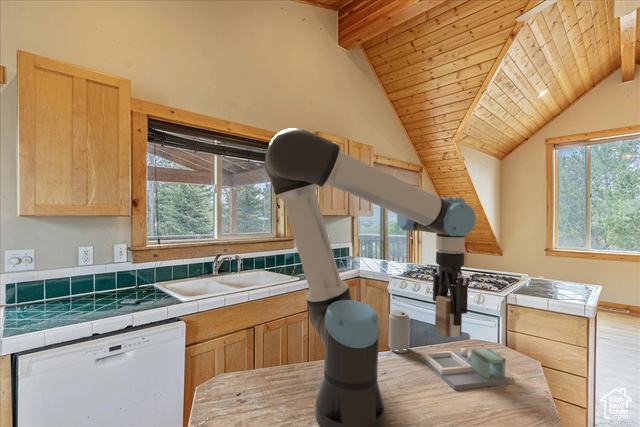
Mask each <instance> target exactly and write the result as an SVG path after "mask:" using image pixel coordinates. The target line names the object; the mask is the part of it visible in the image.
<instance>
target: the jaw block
mask: <svg viewBox="0 0 640 427" xmlns="http://www.w3.org/2000/svg"><path fill="white" fill-rule="evenodd" d="M450 312H452V307H451V299H450V294H448V295H447V296H436V301H435V315H434V316H435V319H434V322H435V324H434V331H436V332H438V333H439V334H441V335H442V336H444V337H445V338H447V337H448V338H450V336H449V333H450ZM462 315H463V314H461V325H460V336H459V337H461V336H462V327H463V326H462V320H463V318H462V317H463V316H462Z"/></svg>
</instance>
